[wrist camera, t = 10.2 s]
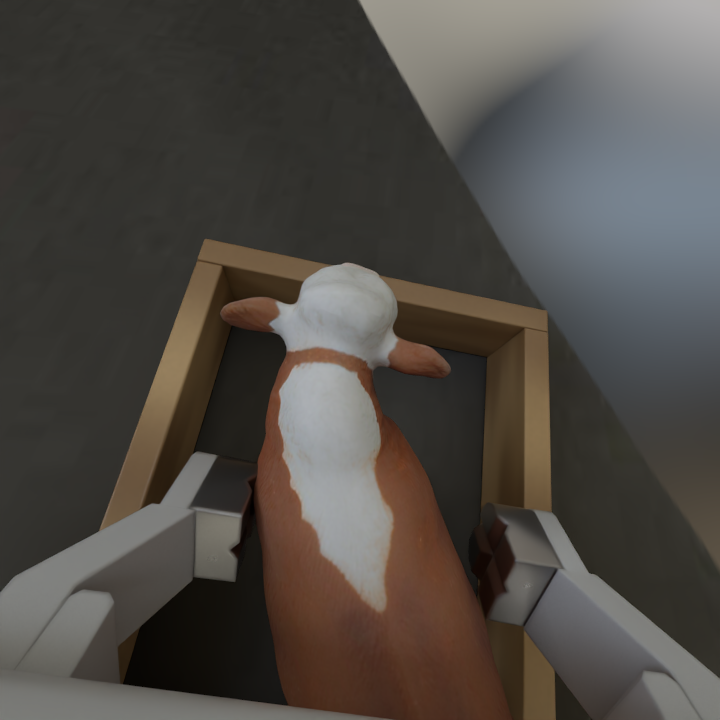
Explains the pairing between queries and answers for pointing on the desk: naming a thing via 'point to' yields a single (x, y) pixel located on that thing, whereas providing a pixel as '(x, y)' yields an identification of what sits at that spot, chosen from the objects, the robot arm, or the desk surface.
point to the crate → (413, 323)
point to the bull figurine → (359, 521)
